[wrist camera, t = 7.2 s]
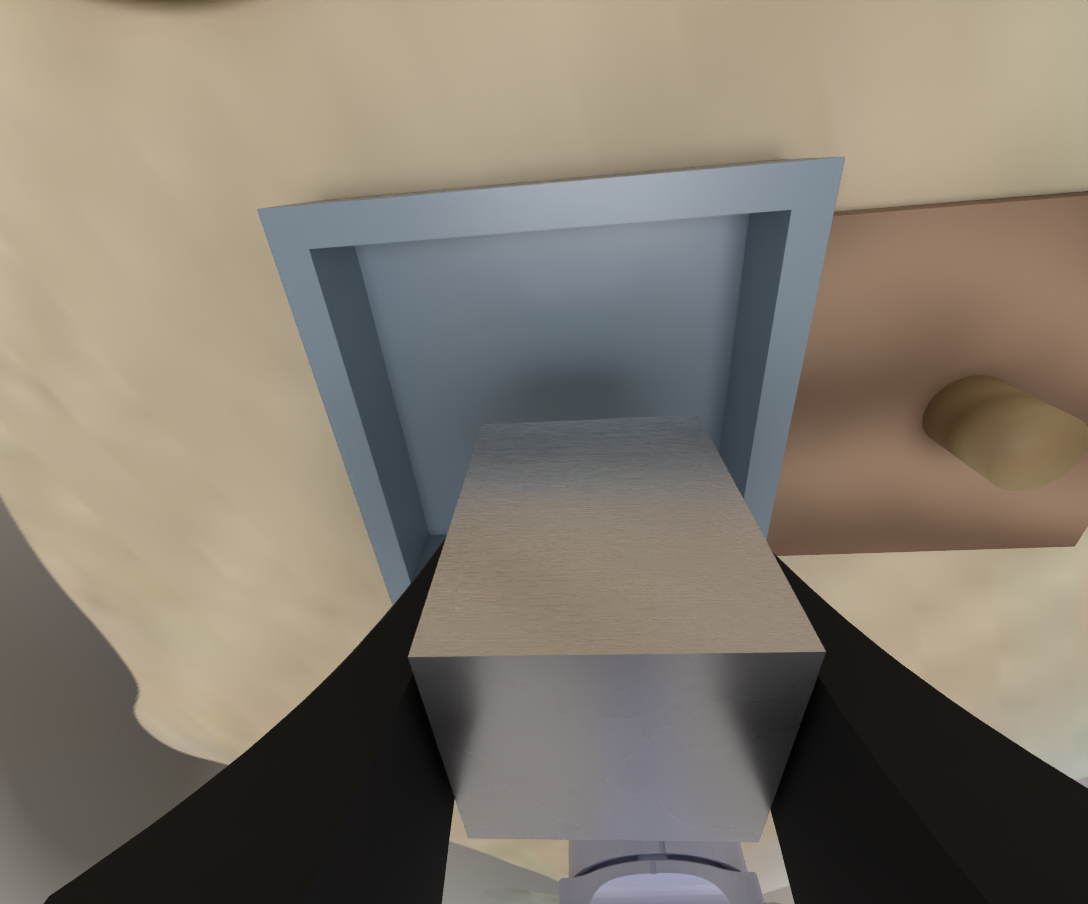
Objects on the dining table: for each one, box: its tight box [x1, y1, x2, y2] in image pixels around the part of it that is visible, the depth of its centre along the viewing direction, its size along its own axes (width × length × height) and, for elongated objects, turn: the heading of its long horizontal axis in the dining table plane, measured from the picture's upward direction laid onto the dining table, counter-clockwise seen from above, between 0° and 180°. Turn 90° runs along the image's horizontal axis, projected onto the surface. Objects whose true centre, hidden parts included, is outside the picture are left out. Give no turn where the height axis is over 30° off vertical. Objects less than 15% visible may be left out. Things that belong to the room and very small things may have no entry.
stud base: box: [766, 191, 1088, 556], centre depth 16 cm, size 13×13×4 cm
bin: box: [257, 157, 845, 604], centre depth 16 cm, size 14×14×4 cm
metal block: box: [408, 415, 826, 842], centre depth 9 cm, size 5×5×6 cm
